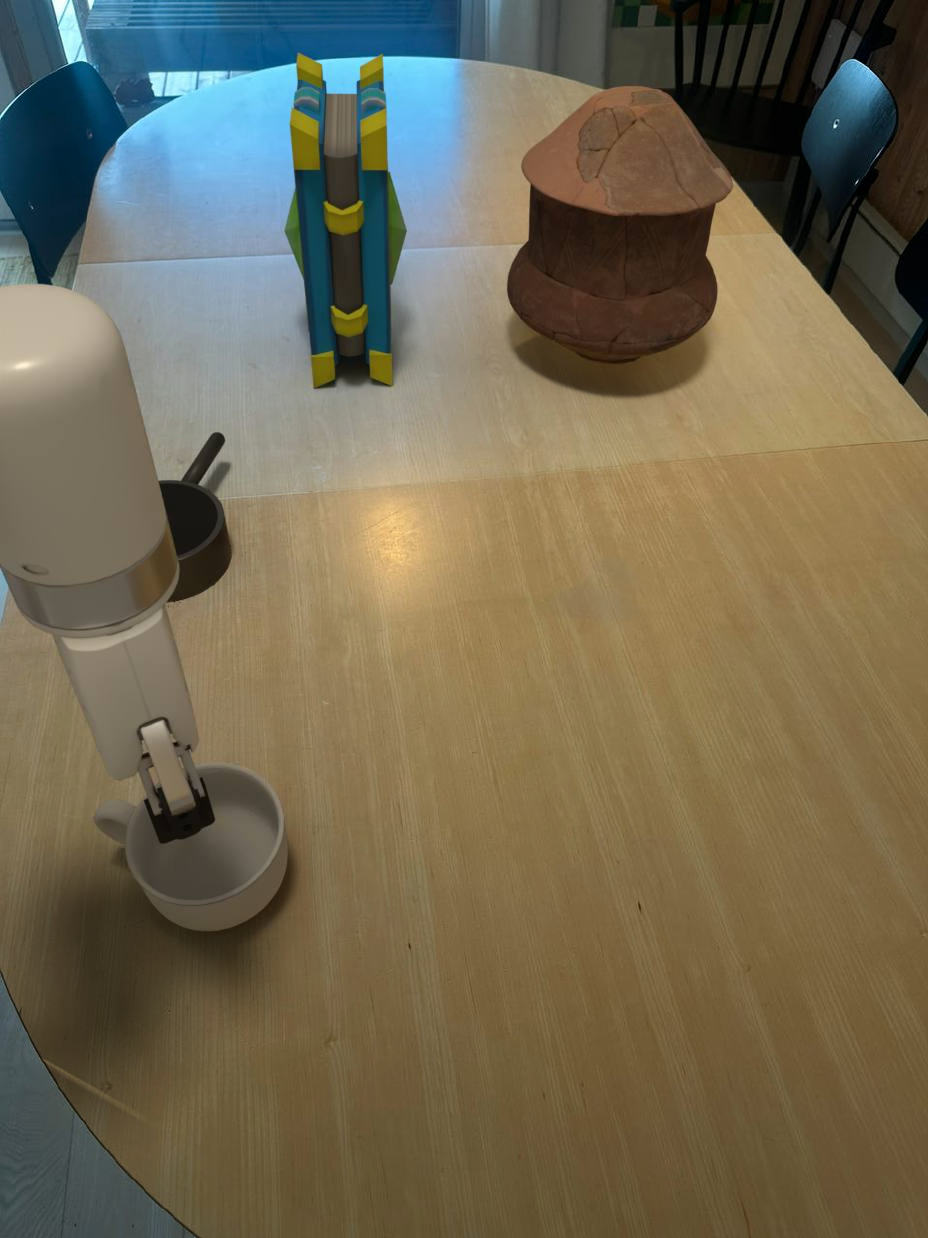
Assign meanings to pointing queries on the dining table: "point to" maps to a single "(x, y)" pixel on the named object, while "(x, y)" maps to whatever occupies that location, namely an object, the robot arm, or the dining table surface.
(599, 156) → the pottery vessel
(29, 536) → the robot arm
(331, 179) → the decorative book
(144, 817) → the teacup
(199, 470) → the milk pan
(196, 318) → the dining table surface
